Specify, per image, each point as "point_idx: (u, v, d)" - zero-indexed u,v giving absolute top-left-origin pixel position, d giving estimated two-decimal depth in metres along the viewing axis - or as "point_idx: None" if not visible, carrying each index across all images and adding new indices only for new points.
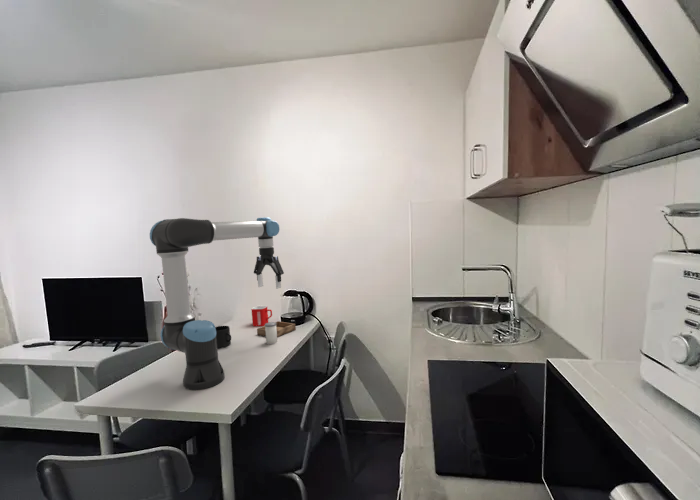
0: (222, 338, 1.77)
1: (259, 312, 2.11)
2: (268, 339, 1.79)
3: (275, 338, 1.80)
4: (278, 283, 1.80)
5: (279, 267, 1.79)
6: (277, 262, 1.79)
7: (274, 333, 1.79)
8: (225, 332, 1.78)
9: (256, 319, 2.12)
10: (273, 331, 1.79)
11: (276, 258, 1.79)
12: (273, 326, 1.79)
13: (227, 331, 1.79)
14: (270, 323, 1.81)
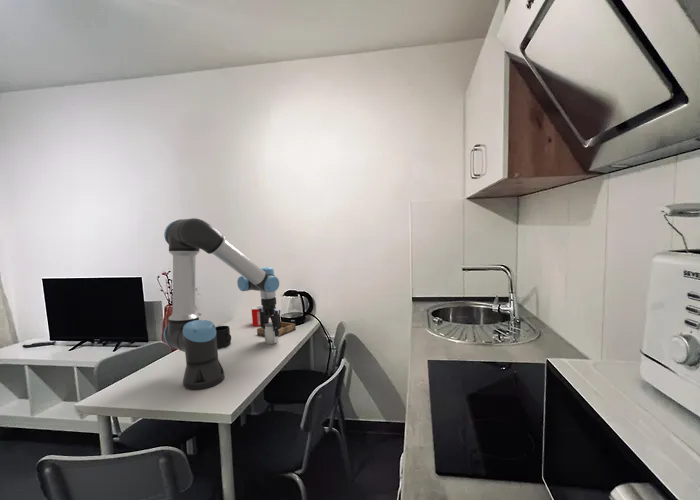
0: (222, 338, 1.77)
1: (259, 312, 2.11)
2: (268, 339, 1.79)
3: None
4: (275, 338, 1.79)
5: (278, 322, 1.77)
6: (278, 316, 1.77)
7: None
8: (225, 332, 1.78)
9: (256, 319, 2.12)
10: None
11: (278, 312, 1.76)
12: None
13: (227, 331, 1.79)
14: (270, 323, 1.81)
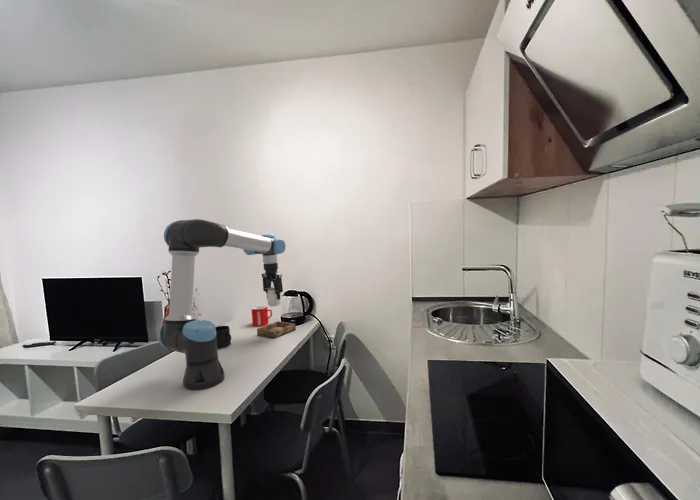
0: (222, 338, 1.77)
1: (259, 312, 2.11)
2: (270, 302, 1.89)
3: None
4: (277, 300, 1.89)
5: (280, 285, 1.87)
6: (279, 280, 1.87)
7: None
8: (225, 332, 1.78)
9: (256, 319, 2.12)
10: None
11: (280, 276, 1.87)
12: None
13: (227, 331, 1.79)
14: (272, 287, 1.91)
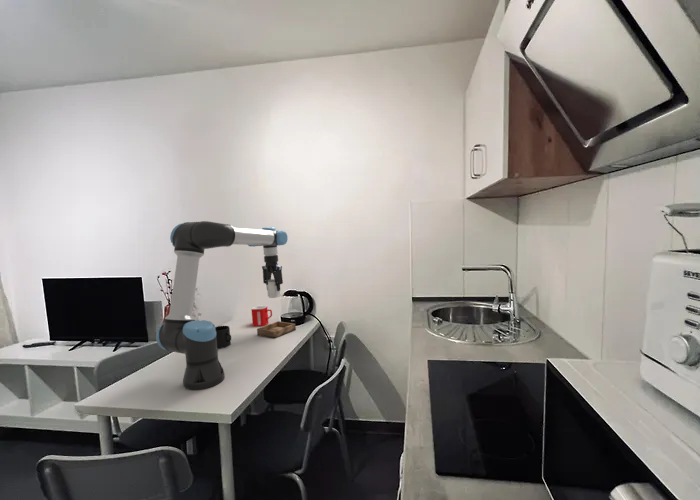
0: (222, 338, 1.77)
1: (259, 312, 2.11)
2: (270, 293, 1.93)
3: None
4: (277, 292, 1.94)
5: (280, 277, 1.92)
6: (280, 272, 1.92)
7: None
8: (225, 332, 1.78)
9: (256, 319, 2.12)
10: None
11: (280, 268, 1.91)
12: None
13: (227, 331, 1.79)
14: (272, 279, 1.96)
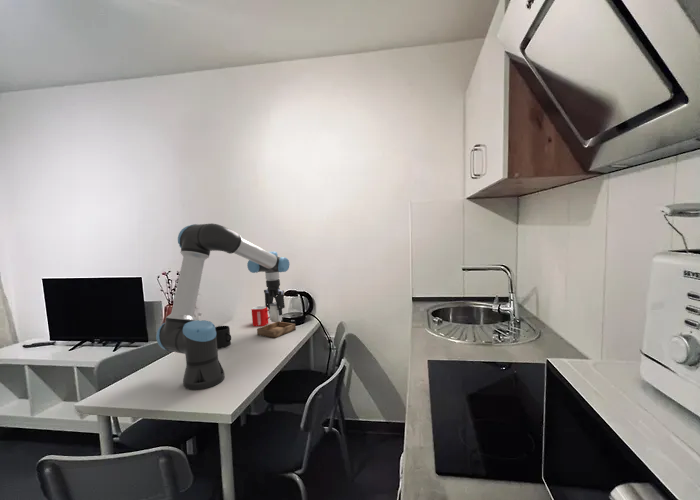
0: (222, 338, 1.77)
1: (259, 312, 2.11)
2: (273, 318, 1.95)
3: None
4: (279, 316, 1.95)
5: (282, 302, 1.93)
6: (281, 297, 1.93)
7: None
8: (225, 332, 1.78)
9: (256, 319, 2.12)
10: None
11: (282, 293, 1.92)
12: None
13: (227, 331, 1.79)
14: (274, 303, 1.97)
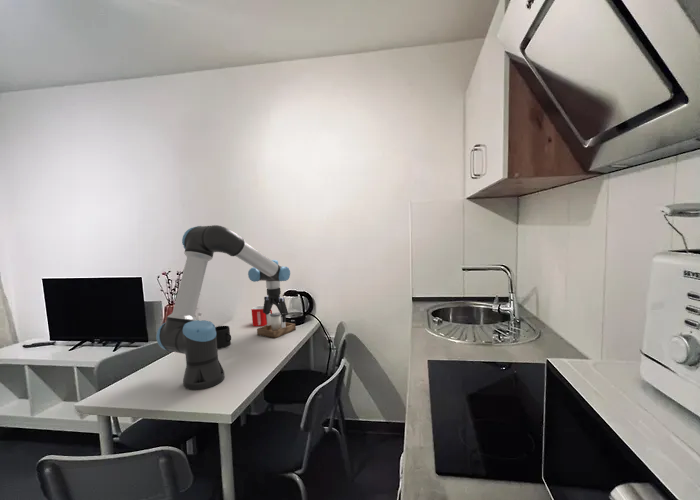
0: (222, 338, 1.77)
1: (259, 312, 2.11)
2: (273, 328, 1.95)
3: (280, 327, 1.96)
4: (283, 323, 1.94)
5: (284, 308, 1.92)
6: (283, 303, 1.92)
7: (279, 322, 1.96)
8: (225, 332, 1.78)
9: (256, 319, 2.12)
10: (278, 320, 1.95)
11: (283, 300, 1.92)
12: (278, 316, 1.95)
13: (227, 331, 1.79)
14: (275, 313, 1.97)
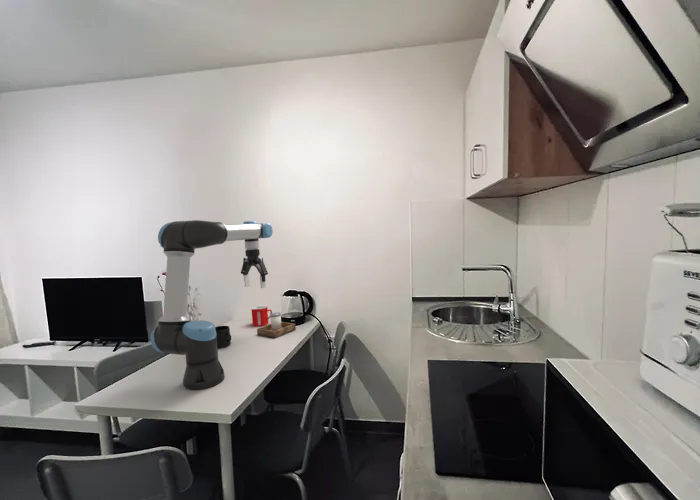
0: (222, 338, 1.77)
1: (259, 312, 2.11)
2: (273, 328, 1.95)
3: (280, 327, 1.96)
4: (262, 283, 1.91)
5: (263, 268, 1.89)
6: (262, 263, 1.90)
7: (279, 322, 1.95)
8: (225, 332, 1.78)
9: (256, 319, 2.12)
10: (278, 321, 1.95)
11: (261, 259, 1.90)
12: (278, 316, 1.95)
13: (227, 331, 1.79)
14: (275, 313, 1.97)
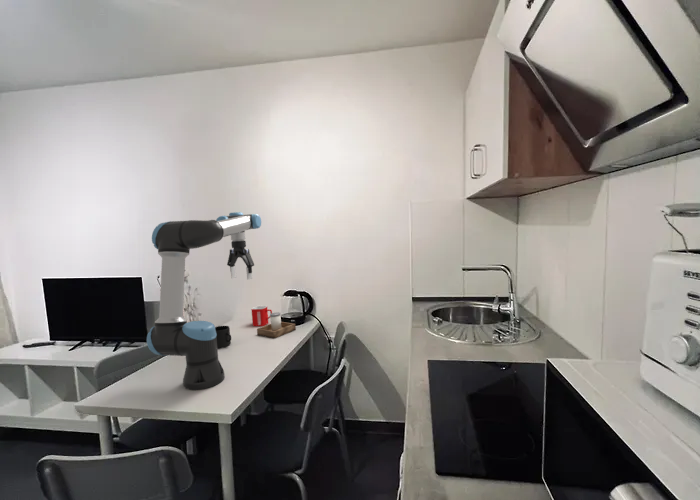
0: (222, 338, 1.77)
1: (259, 312, 2.11)
2: (273, 328, 1.95)
3: (280, 327, 1.96)
4: (249, 274, 1.91)
5: (250, 259, 1.89)
6: (248, 254, 1.90)
7: (279, 322, 1.96)
8: (225, 332, 1.78)
9: (256, 319, 2.12)
10: (278, 320, 1.95)
11: (247, 251, 1.90)
12: (278, 316, 1.95)
13: (227, 331, 1.79)
14: (275, 313, 1.97)
